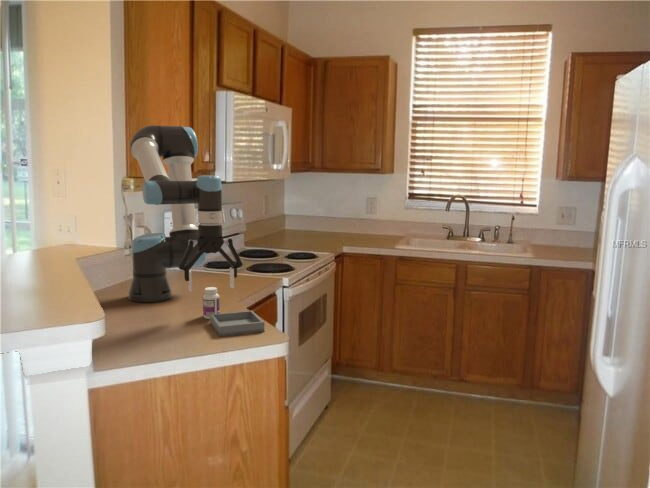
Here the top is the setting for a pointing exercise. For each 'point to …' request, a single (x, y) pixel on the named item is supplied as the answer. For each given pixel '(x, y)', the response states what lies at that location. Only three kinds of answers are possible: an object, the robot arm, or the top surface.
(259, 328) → the bin
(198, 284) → the top surface
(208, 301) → the pill bottle
